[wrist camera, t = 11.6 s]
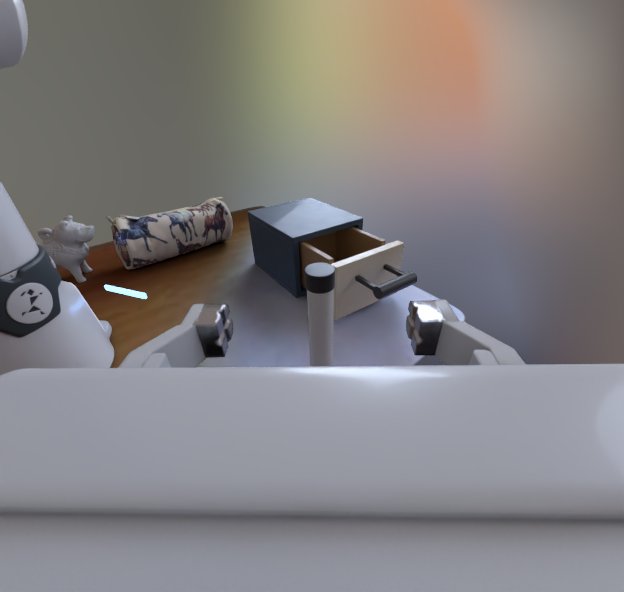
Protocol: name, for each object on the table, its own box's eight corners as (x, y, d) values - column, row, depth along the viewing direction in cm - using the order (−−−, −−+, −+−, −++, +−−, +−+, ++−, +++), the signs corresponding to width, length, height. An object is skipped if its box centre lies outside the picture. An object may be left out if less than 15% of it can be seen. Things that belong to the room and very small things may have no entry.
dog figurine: (108, 279, 54) (82, 220, 48) (24, 290, 52) (-14, 230, 46) (116, 265, 59) (93, 210, 53) (39, 275, 56) (5, 218, 50)
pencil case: (130, 278, 54) (108, 225, 49) (119, 262, 60) (98, 212, 54) (240, 243, 66) (232, 196, 60) (222, 232, 71) (213, 189, 66)
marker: (307, 384, 33) (301, 275, 26) (313, 367, 35) (309, 261, 28) (331, 388, 32) (331, 278, 25) (335, 370, 35) (337, 263, 27)
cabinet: (359, 273, 53) (363, 217, 48) (296, 298, 47) (292, 238, 42) (311, 245, 63) (309, 197, 58) (255, 263, 58) (247, 211, 52)
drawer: (424, 307, 42) (435, 255, 38) (361, 341, 37) (365, 285, 33) (340, 259, 55) (341, 216, 51) (284, 279, 50) (280, 233, 46)
